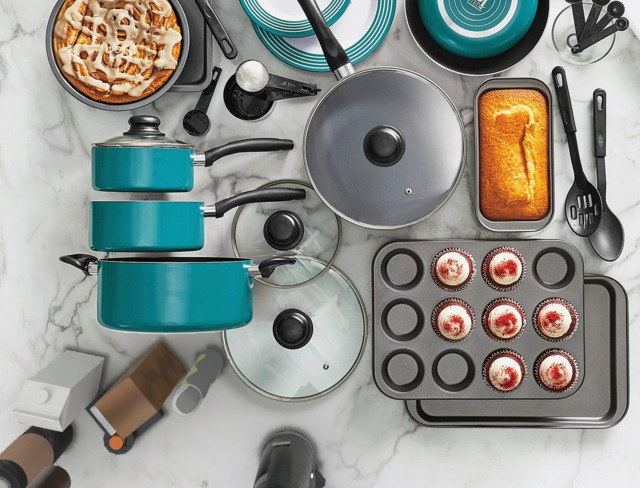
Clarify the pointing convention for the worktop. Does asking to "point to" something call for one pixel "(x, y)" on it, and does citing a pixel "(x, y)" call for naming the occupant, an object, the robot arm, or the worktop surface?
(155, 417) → the scale
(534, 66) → the worktop surface
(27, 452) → the travel mug
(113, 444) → the button
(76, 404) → the milk carton
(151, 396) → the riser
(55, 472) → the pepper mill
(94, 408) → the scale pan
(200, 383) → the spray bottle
